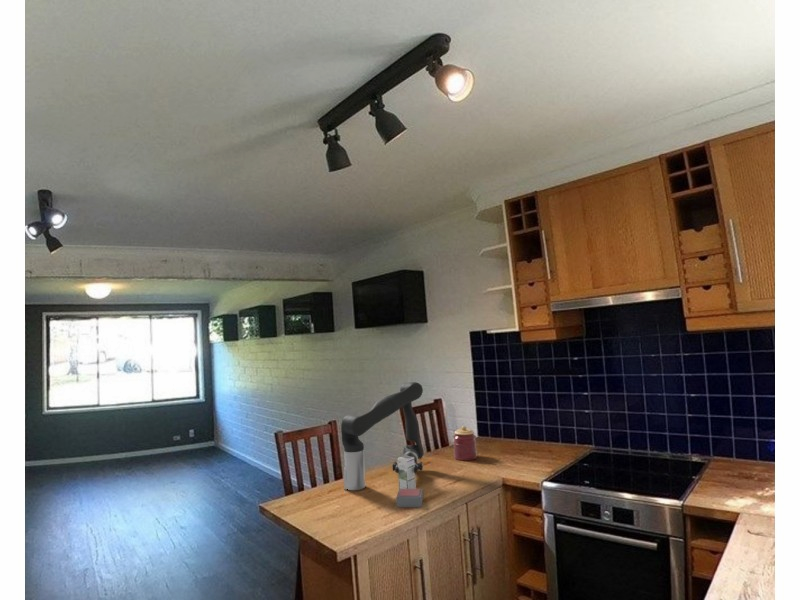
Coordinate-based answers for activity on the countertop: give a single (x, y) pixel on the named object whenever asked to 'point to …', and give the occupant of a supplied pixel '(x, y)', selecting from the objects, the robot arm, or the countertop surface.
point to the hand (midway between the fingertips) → (406, 470)
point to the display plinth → (409, 498)
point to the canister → (464, 444)
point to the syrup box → (406, 472)
